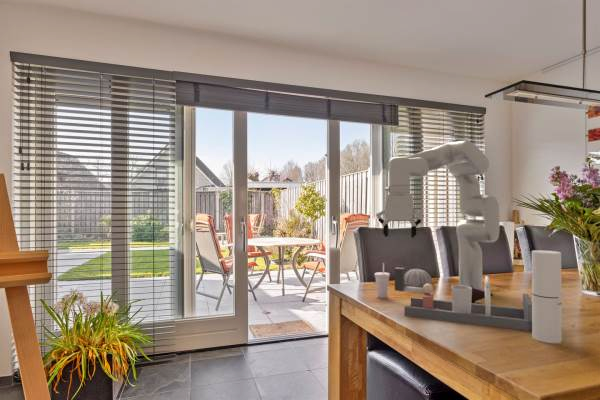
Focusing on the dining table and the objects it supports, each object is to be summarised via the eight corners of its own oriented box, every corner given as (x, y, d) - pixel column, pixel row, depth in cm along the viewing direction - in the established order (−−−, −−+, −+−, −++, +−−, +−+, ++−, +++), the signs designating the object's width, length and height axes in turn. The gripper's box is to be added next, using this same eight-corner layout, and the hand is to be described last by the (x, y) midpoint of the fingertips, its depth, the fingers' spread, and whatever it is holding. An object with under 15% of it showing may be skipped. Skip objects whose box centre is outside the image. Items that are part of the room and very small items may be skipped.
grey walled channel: (411, 304, 144) (411, 270, 144) (528, 317, 128) (527, 278, 128) (404, 315, 131) (404, 277, 131) (534, 331, 114) (533, 288, 114)
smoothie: (390, 299, 153) (390, 264, 153) (374, 298, 154) (374, 264, 154) (389, 295, 159) (389, 262, 159) (374, 294, 161) (374, 261, 161)
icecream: (490, 285, 149) (449, 286, 153) (493, 284, 142) (450, 285, 146) (493, 304, 147) (451, 304, 151) (496, 304, 140) (452, 304, 145)
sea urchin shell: (398, 287, 175) (398, 269, 176) (407, 281, 187) (407, 265, 187) (428, 290, 168) (428, 272, 169) (434, 284, 180) (434, 268, 180)
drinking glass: (470, 320, 125) (470, 290, 125) (449, 317, 129) (449, 287, 129) (473, 315, 131) (473, 286, 131) (453, 312, 134) (453, 284, 135)
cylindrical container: (526, 334, 112) (526, 250, 112) (549, 334, 112) (548, 250, 112) (544, 343, 104) (543, 253, 105) (568, 342, 105) (567, 253, 105)
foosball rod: (398, 304, 144) (397, 266, 144) (434, 308, 138) (434, 268, 138) (393, 310, 135) (393, 269, 136) (432, 314, 130) (431, 272, 130)
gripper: (374, 190, 140) (373, 236, 140) (422, 190, 132) (422, 238, 132) (378, 191, 146) (378, 235, 146) (425, 190, 139) (425, 237, 139)
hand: (399, 236), depth 139 cm, fingers open, 9 cm apart
